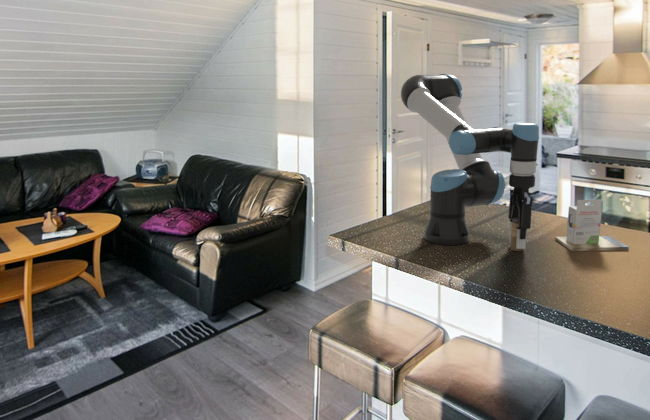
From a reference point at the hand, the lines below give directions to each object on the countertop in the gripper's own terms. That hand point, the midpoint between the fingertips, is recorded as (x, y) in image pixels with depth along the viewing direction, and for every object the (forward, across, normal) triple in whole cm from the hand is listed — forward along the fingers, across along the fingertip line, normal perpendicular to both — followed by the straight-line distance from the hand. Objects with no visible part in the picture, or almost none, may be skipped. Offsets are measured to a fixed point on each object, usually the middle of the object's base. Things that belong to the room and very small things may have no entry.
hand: (517, 245), depth 165 cm
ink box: (+1, +3, -22) cm, 22 cm away
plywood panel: (+1, +4, -25) cm, 25 cm away
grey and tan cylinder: (+1, 0, 0) cm, 1 cm away
